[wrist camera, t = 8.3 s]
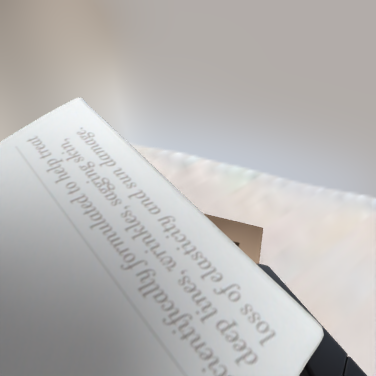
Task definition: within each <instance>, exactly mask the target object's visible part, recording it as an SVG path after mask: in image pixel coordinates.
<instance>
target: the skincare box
mask: <svg viewBox="0 0 376 376" xmlns="http://www.w3.org/2000/svg"><path fill="white" fill-rule="evenodd" d="M323 336H324V333H323V329H322V326H321V325H320V324H319V323H318V322H317V321H316V320H315V319H314V318H313V317H312V316H311V315H310V314H309V313H308V312H307V311H306V310H305V309H304V308H303V307H302V306H301V305H300V304H299V303H297V302H296V301H295V300H294V299H293V298H292V297H291V296H290V295H289V294H288V293H287V292H286V291H285V290H284V289H282V288H281V287H280V286H279V285H278V284H277V283H276V282H275V281H274V280H273V279H272V278H271V277H270V276H269V275H268V274H266V273H265V272H264V271H263V270H262V269H261V268H260V267H259V266H258V265H257V264H256V263H255V262H254V261H253V260H252V259H250V258H249V257H248V256H247V255H246V254H245V253H244V252H243V251H242V250H241V249H240V248H239V247H238V246H237V245H236V244H235V243H234V242H233V241H232V240H230V239H229V238H228V237H227V236H226V235H225V234H224V233H223V232H222V231H221V230H220V229H219V228H218V227H217V226H216V225H215V224H214V223H213V222H212V221H210V220H209V219H208V218H207V217H206V216H205V215H204V214H203V213H202V212H201V211H200V210H199V209H198V208H197V207H196V206H195V205H194V204H193V203H192V202H190V201H189V200H188V199H187V198H186V197H185V196H184V195H183V194H182V193H181V192H180V191H179V190H178V189H177V188H176V187H175V186H174V185H173V184H172V183H171V182H169V181H168V180H167V179H166V178H165V177H164V176H163V175H162V174H161V173H160V172H159V171H158V170H157V169H156V168H155V167H154V166H153V165H152V164H151V163H149V162H148V161H147V160H146V159H145V158H144V157H143V156H142V155H141V154H140V153H139V152H138V151H137V150H136V149H135V148H134V147H133V146H131V145H130V144H129V143H128V142H127V141H126V140H125V139H124V138H123V137H121V135H120V134H118V133H117V132H116V131H115V130H114V129H113V128H112V127H111V126H110V125H109V124H108V123H107V122H106V121H105V120H104V119H103V118H102V117H101V116H100V115H99V114H97V113H96V112H95V111H94V110H93V109H92V108H91V107H90V106H89V105H88V104H87V103H86V102H85V101H84V100H83V99H82V98H75V99H73V100H71V101H69V102H68V103H66V104H64V105H62V106H60V107H58V108H56V109H54V110H53V111H51V112H49V113H47V114H46V115H44V116H42V117H40V118H39V119H37V120H35V121H33V122H32V123H30V124H28V125H27V126H25V127H24V128H22V129H20V130H18V131H17V132H15V133H14V134H12V135H10V136H9V137H7V138H6V139H4V140H2V141H1V142H0V376H299V375H300V373H301V372H302V370H303V368H304V367H305V365H306V363H307V362H308V360H309V359H310V357H311V356H312V354H313V353H314V352H315V350H316V349H317V347H318V346H319V344H320V342H321V341H322V338H323Z"/></svg>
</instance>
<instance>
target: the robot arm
mask: <svg viewBox="0 0 376 376" xmlns="http://www.w3.org/2000/svg"><path fill="white" fill-rule="evenodd" d="M257 265H258V266H259V267H260V268H261V269H262V270H263V271H264V272H265V273H266V274H268V275H269V276H270V277H271V278H272V279H273V280H274V281H275V282H276V283H277V284H278V285H279V286H280V287H281V288H282V289H284V290H285V291H286V292H287V293H288V294H289V295H290V296H291V297H292V298H293V299H294V300H295V301H296V302H297V303H299V304H300V305H301V306H302V307H303V308H304V309H305V310H306V311H307V312H308V313H309V314H310V315H311V316H312V317H313V318H314V319H315V320H316V318H315V317H314V316H313V315H312V314H311V313H310V312H309V311H308V310H307V308H306V307H305V306H304V305H303V304H302V303H301V302H300V301H299V300H298V298H297V297H296V296H295V295H294V294H293V293H292V292H291V291H290V290H289V288H288V287H287V286H286V285H285V284H284V283H283V282H282V281H281V280H280V278H279V277H278V276H277V275H276V274H275V273H274V272H273V271H272V270H271V268H270V267H269V266H266V265H262V264H258V263H257ZM316 321H317V320H316ZM317 322H318V321H317ZM318 323H319V322H318ZM319 324H320V323H319ZM320 325H321V324H320ZM321 326H322V325H321ZM322 329H323V333H324V336H323V338H322V341H321V342H320V344H319V346H318V347H317V349H316V350H315V352H314V353H313V354H312V356H311V357H310V359H309V360H308V362H307V363H306V365H305V367H304V368H303V370H302V372H301V373H300V375H299V376H367V375H366V374H365V373H364V372H363V371H362V369H361V368H360V367H359V366H358V365H357V364H356V363H355V362H354V361H353V359H352V358H351V357H349V356H348V357H347V353H346V352H345V351H344V350H343V348H342V347H341V346H340V345H339V344H338V343H337V342H336V341H335V340H334V338H333V337H332V336H331V335H330V334H329V333H328V332H327V331H326V330H325V328H324V327H323V326H322Z"/></svg>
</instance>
